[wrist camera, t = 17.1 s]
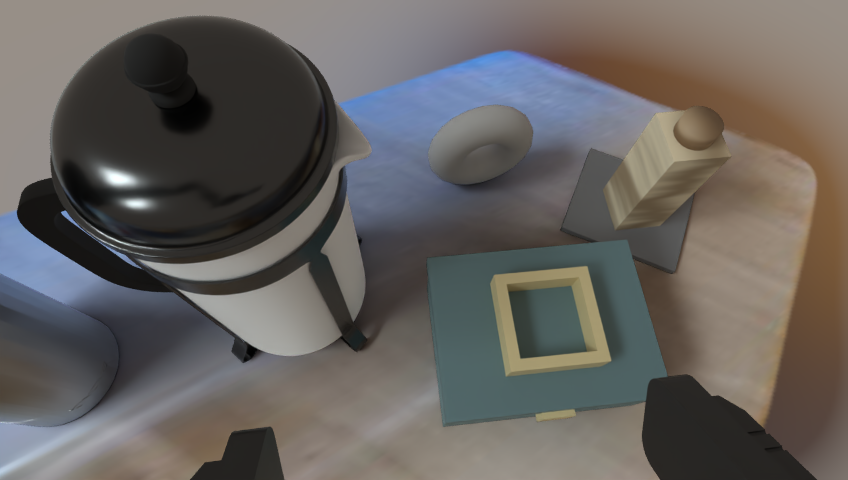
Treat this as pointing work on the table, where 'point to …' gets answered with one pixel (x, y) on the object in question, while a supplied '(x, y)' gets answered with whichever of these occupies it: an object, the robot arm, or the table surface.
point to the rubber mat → (596, 225)
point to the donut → (480, 144)
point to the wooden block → (666, 167)
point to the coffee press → (210, 181)
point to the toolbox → (540, 332)
